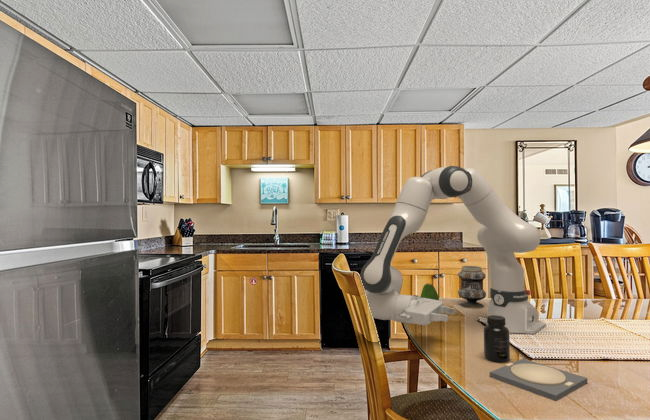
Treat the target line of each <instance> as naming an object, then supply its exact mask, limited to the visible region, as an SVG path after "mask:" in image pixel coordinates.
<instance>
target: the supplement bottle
mask: <svg viewBox="0 0 650 420" xmlns="http://www.w3.org/2000/svg"><path fill="white" fill-rule="evenodd" d="M486 319H487V323H488V325H487V324H486V325H485V326H484V327H483V356H484V358H485V359H486V360H487V361H489V362H493V363H496V364H497V363H499V364H503V363H508V362H509V361H510V358H511V351H510V350H511V349H510V348H511V347H510V344H511V343H510V342H511V341H510V333H509V330H508V328H507V327H505V325H506V323H505V318H504V317H502V316H497V315H490V316H488V317H487V316H486Z"/></svg>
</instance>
